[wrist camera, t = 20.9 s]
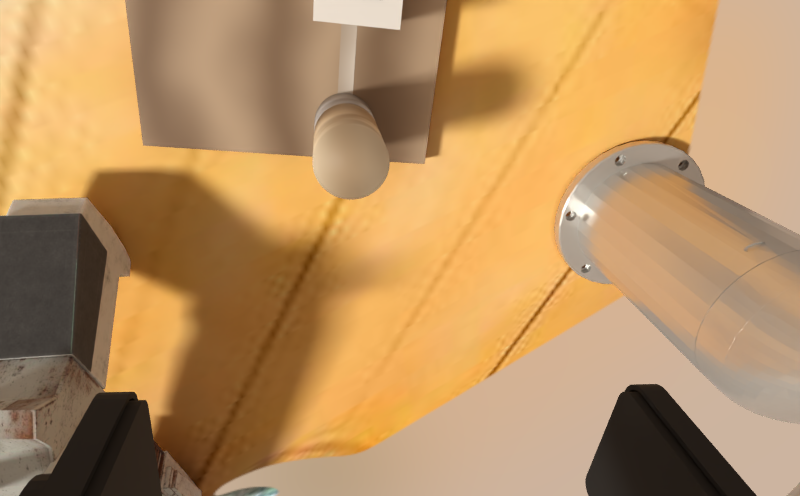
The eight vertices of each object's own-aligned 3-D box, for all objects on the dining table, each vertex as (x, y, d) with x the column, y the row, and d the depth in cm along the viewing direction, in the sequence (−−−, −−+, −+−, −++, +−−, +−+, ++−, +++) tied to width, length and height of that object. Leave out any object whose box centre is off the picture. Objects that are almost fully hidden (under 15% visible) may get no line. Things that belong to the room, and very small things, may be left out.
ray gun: (113, 182, 32) (-16, 530, 19) (217, 393, 56) (191, 609, 43) (-9, 185, 31) (-230, 554, 18) (151, 399, 55) (104, 621, 42)
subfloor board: (458, -119, 29) (463, -123, 28) (421, 159, 37) (424, 164, 36) (111, -178, 26) (102, -185, 25) (149, 140, 34) (143, 145, 32)
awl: (376, 95, 33) (393, 128, 25) (371, 153, 35) (385, 201, 27) (315, 90, 32) (313, 122, 24) (313, 149, 34) (311, 197, 26)
